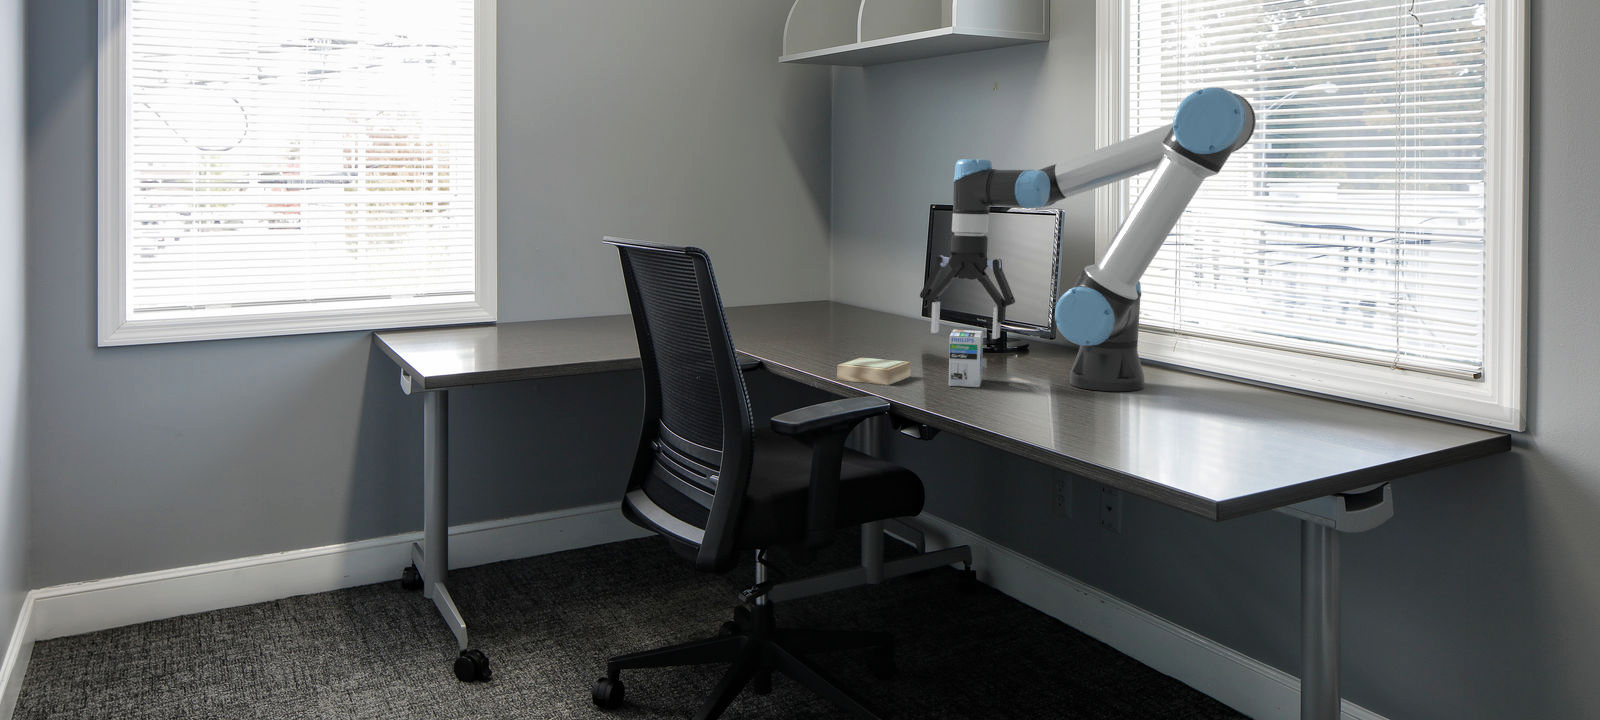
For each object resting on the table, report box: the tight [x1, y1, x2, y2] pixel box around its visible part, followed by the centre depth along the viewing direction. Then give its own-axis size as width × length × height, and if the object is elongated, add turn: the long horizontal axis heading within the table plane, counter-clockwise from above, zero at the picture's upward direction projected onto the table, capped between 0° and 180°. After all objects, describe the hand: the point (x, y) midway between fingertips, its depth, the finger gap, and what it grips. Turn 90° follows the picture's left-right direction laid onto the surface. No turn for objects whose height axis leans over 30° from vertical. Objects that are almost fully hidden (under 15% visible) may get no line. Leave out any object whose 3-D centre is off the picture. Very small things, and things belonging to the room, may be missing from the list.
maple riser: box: [836, 357, 912, 386], centre depth 242 cm, size 12×12×3 cm
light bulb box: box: [948, 329, 984, 388], centre depth 237 cm, size 11×7×11 cm, turn 168°
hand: (965, 335), depth 237 cm, fingers open, 13 cm apart
